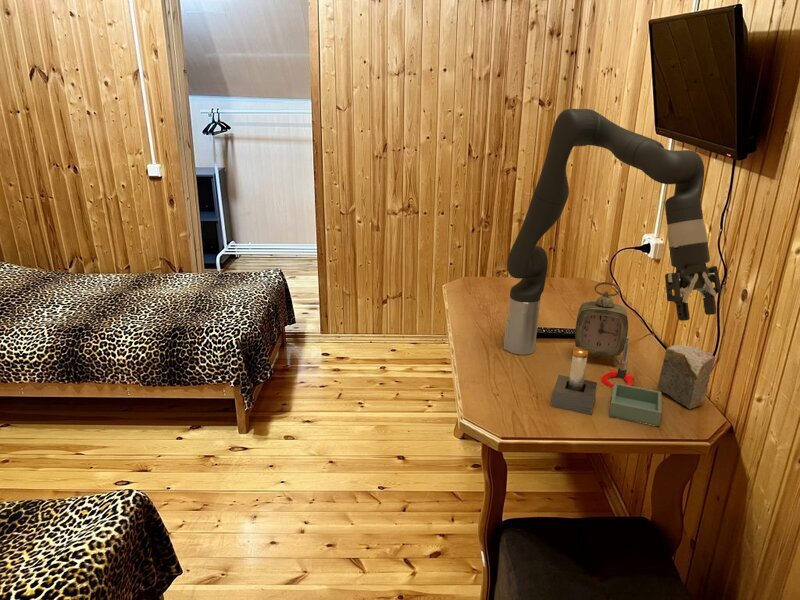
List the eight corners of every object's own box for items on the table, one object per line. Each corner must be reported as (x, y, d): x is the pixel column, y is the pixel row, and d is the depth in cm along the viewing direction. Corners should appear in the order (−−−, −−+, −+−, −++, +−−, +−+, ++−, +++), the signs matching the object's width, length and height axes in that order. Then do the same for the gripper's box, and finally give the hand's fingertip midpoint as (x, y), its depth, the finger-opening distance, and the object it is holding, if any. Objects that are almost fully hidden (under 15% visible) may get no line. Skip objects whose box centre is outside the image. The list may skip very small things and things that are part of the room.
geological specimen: (655, 392, 157) (665, 342, 152) (671, 388, 160) (682, 338, 155) (688, 410, 148) (699, 358, 143) (704, 406, 150) (716, 354, 145)
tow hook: (627, 394, 157) (637, 380, 164) (634, 352, 152) (643, 339, 159) (597, 385, 161) (607, 372, 168) (602, 344, 156) (613, 332, 163)
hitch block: (551, 406, 149) (552, 390, 147) (557, 389, 157) (558, 374, 156) (591, 415, 145) (593, 399, 143) (594, 397, 154) (597, 382, 152)
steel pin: (565, 403, 150) (572, 351, 145) (567, 397, 153) (574, 346, 148) (579, 406, 149) (587, 354, 144) (581, 400, 152) (588, 348, 147)
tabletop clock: (571, 361, 174) (581, 283, 166) (572, 349, 182) (582, 274, 174) (621, 369, 170) (635, 289, 161) (620, 356, 178) (633, 280, 170)
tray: (608, 416, 145) (611, 402, 143) (612, 395, 155) (614, 382, 153) (658, 427, 140) (661, 413, 139) (658, 405, 150) (661, 391, 149)
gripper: (694, 242, 130) (703, 313, 130) (650, 248, 124) (660, 322, 124) (725, 237, 123) (735, 312, 123) (680, 243, 117) (690, 322, 117)
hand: (697, 317), depth 124 cm, fingers open, 8 cm apart
